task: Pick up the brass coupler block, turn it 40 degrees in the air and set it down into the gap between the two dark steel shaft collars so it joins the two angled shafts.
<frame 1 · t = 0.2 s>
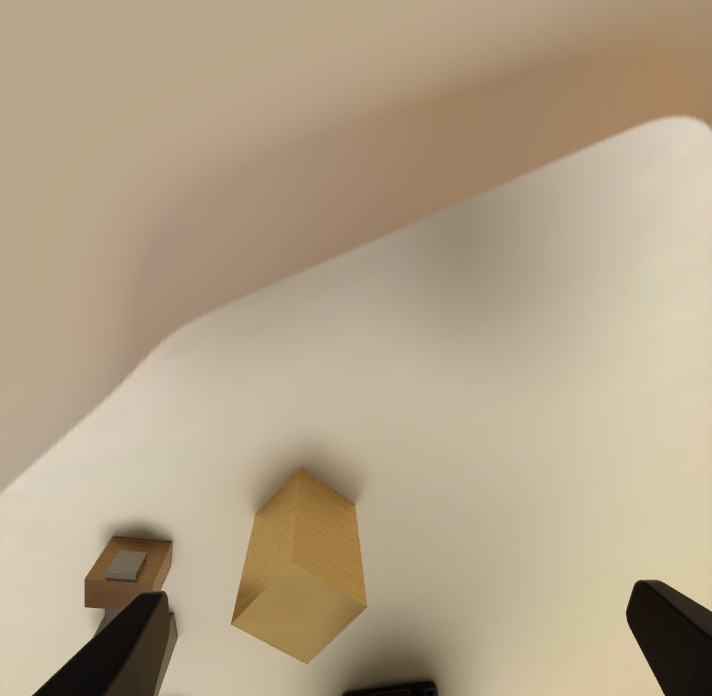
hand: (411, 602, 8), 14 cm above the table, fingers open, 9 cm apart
shaft rig: (150, 675, 26), on the table
coupler: (305, 510, 23), on the table
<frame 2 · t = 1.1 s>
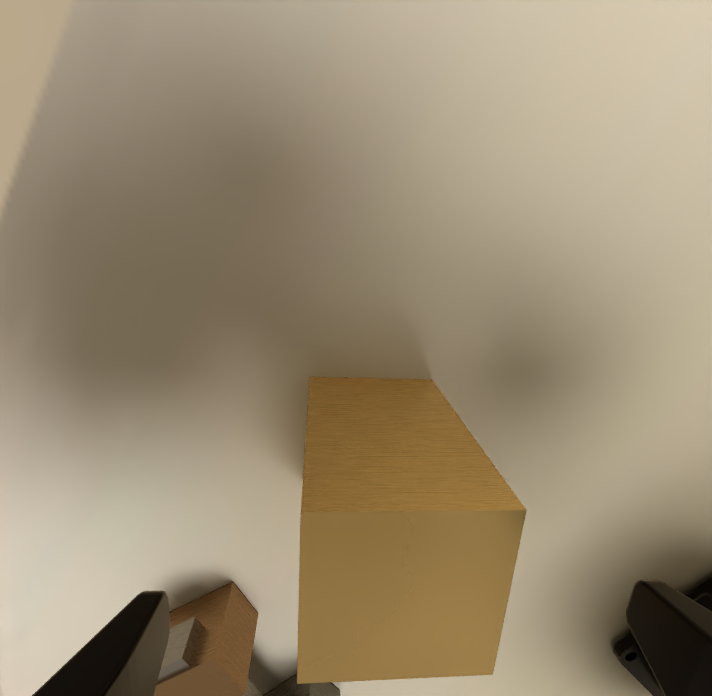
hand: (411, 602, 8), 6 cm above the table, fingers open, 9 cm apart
coupler: (367, 433, 14), on the table
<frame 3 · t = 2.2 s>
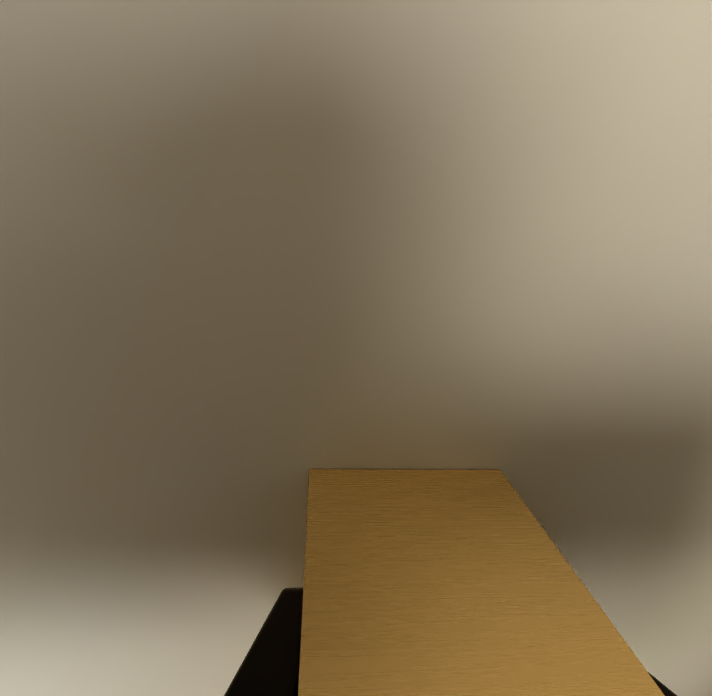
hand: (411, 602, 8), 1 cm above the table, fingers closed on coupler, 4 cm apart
coupler: (398, 549, 9), on the table, touching gripper
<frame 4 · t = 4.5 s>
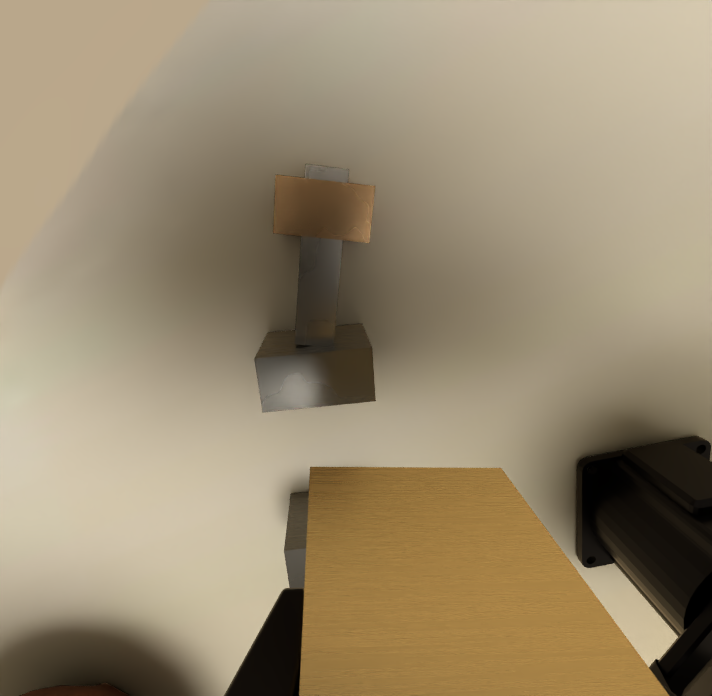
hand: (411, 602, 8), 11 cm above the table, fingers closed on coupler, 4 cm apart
shaft rig: (326, 433, 19), on the table
coupler: (399, 547, 9), point 10 cm above the table, touching gripper
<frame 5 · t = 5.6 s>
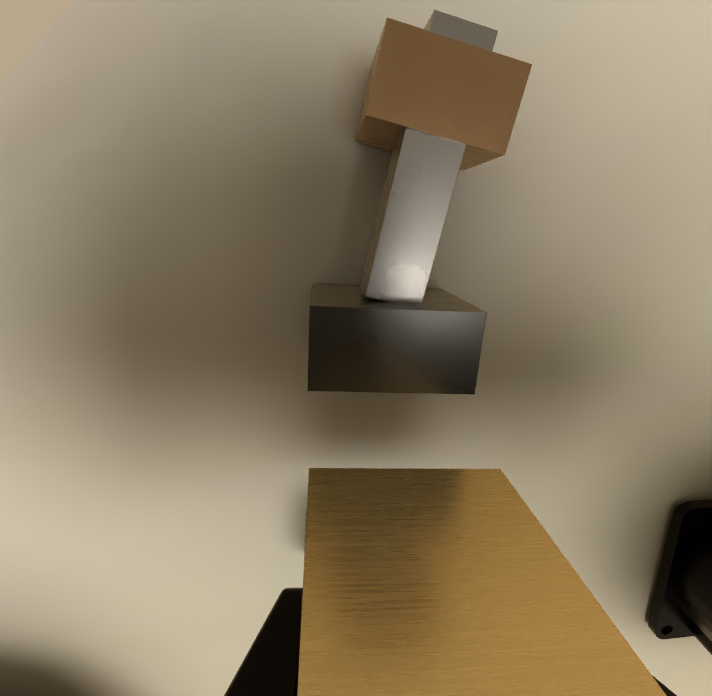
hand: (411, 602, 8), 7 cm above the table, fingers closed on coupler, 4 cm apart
shaft rig: (367, 433, 14), on the table
coupler: (398, 548, 9), point 5 cm above the table, touching gripper
when the fingers open (3 cm above the table, at t = 6.6 s): coupler drops 2 cm, on the table.
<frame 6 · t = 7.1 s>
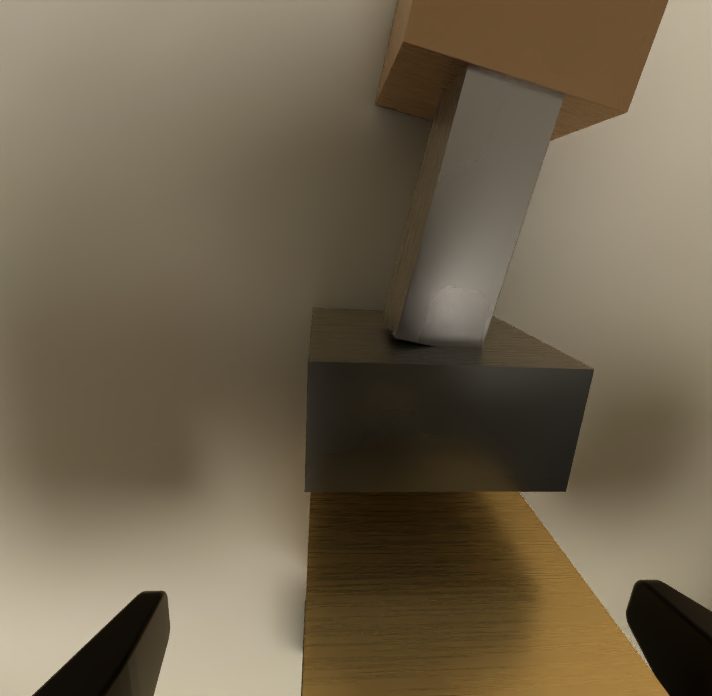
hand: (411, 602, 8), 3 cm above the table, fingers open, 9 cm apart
shaft rig: (387, 505, 10), on the table
coupler: (389, 503, 10), on the table
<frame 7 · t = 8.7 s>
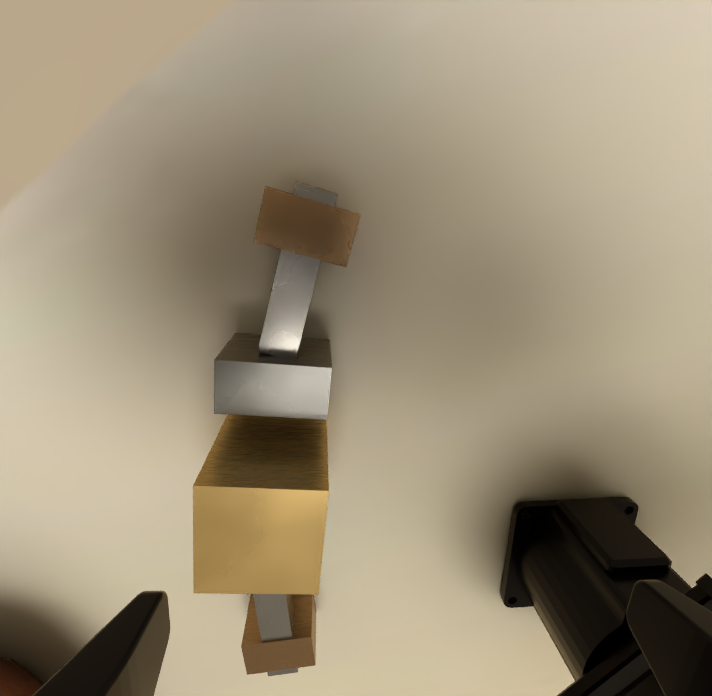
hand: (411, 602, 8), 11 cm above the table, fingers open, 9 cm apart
shaft rig: (277, 440, 19), on the table
coupler: (279, 439, 19), on the table
butternut squash: (9, 693, 22), on the table
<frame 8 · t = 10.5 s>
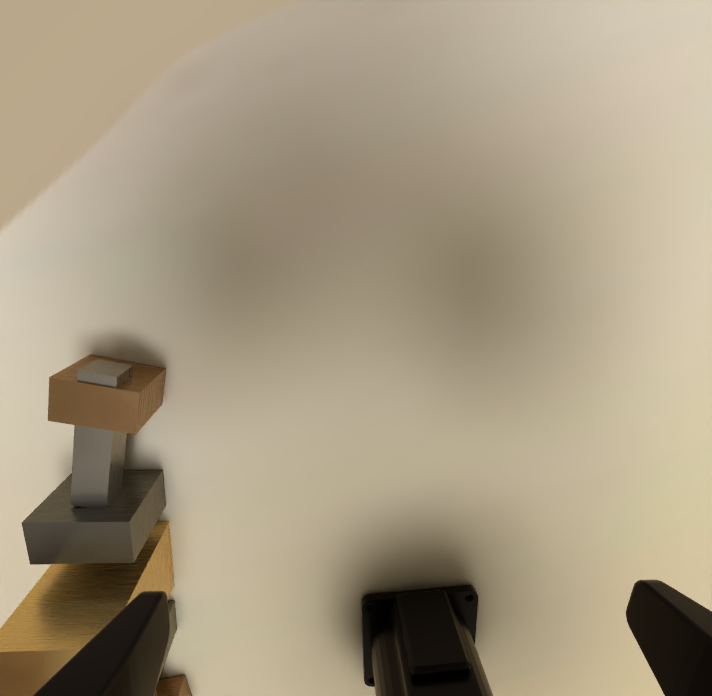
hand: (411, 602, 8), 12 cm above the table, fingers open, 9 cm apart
shaft rig: (129, 555, 21), on the table
coupler: (131, 554, 21), on the table
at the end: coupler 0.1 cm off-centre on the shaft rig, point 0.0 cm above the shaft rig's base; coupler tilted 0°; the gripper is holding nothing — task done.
